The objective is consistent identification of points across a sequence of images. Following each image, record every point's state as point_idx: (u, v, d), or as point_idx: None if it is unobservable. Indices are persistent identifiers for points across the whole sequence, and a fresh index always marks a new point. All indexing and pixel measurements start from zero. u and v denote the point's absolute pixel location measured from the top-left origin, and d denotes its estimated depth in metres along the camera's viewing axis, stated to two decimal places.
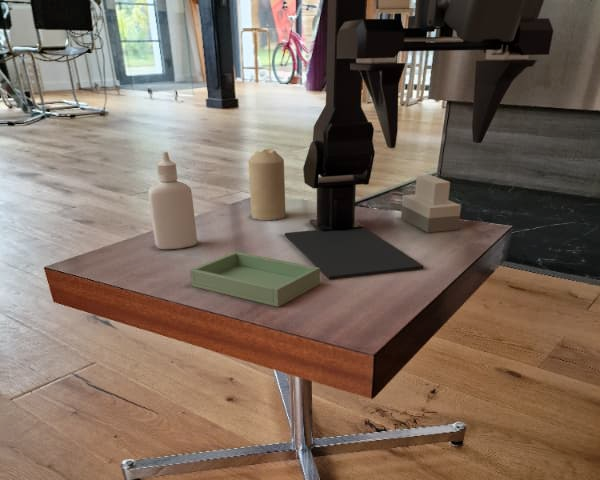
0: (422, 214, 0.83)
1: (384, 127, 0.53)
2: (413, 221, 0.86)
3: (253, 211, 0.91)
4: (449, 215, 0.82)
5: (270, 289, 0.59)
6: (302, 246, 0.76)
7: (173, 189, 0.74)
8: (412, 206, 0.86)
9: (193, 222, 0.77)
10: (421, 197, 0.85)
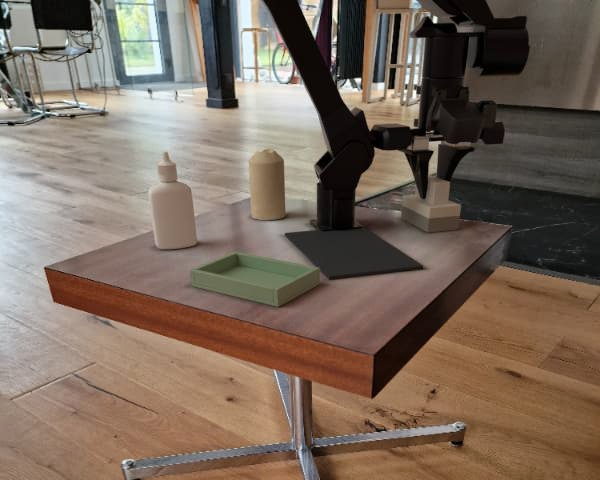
0: (422, 214, 0.83)
1: (418, 186, 0.84)
2: (413, 221, 0.86)
3: (253, 211, 0.91)
4: (449, 215, 0.82)
5: (270, 289, 0.59)
6: (302, 246, 0.76)
7: (173, 189, 0.74)
8: (412, 206, 0.86)
9: (193, 222, 0.77)
10: None
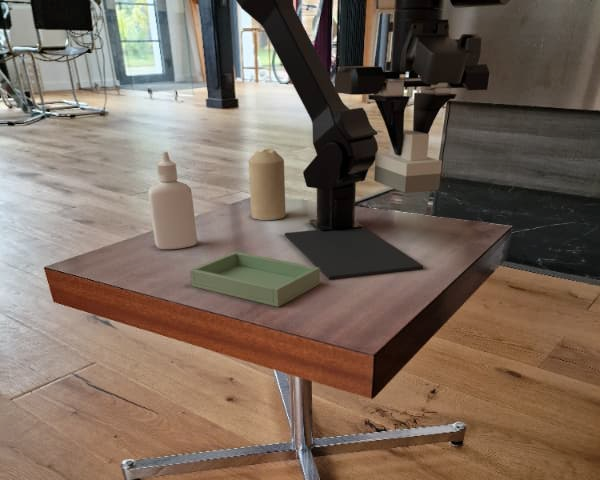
0: (398, 173, 0.73)
1: (393, 140, 0.73)
2: (388, 182, 0.76)
3: (253, 211, 0.91)
4: (429, 173, 0.72)
5: (270, 289, 0.59)
6: (302, 246, 0.76)
7: (173, 189, 0.74)
8: (386, 164, 0.75)
9: (193, 222, 0.77)
10: None
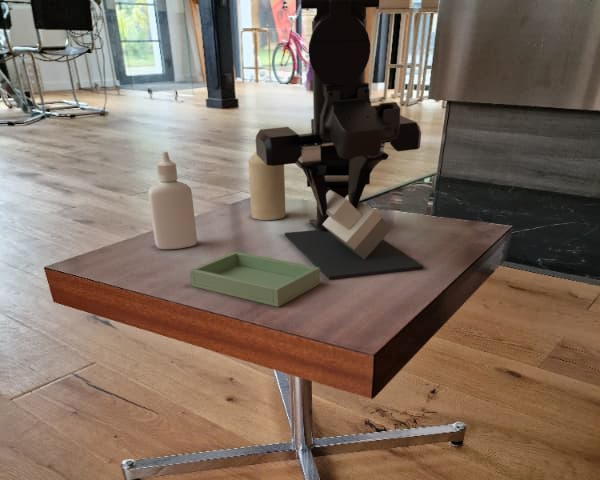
0: (347, 245, 0.71)
1: (317, 200, 0.70)
2: (348, 247, 0.74)
3: (253, 211, 0.91)
4: (371, 228, 0.69)
5: (270, 289, 0.59)
6: (302, 246, 0.76)
7: (173, 189, 0.74)
8: (335, 235, 0.74)
9: (193, 222, 0.77)
10: (336, 221, 0.73)
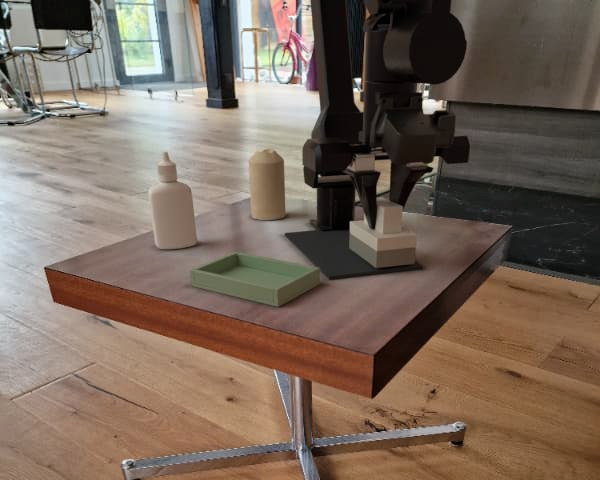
0: (370, 246, 0.68)
1: (366, 213, 0.68)
2: (361, 253, 0.71)
3: (253, 211, 0.91)
4: (402, 247, 0.67)
5: (270, 289, 0.59)
6: (302, 246, 0.76)
7: (173, 189, 0.74)
8: (359, 235, 0.70)
9: (193, 222, 0.77)
10: None
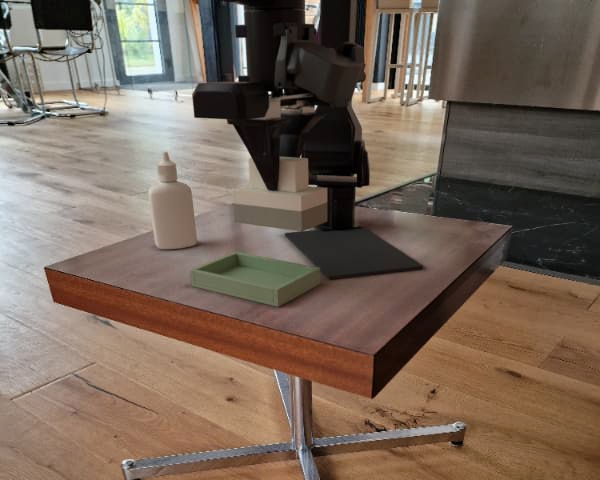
0: (285, 208, 0.58)
1: (265, 173, 0.58)
2: (265, 221, 0.61)
3: None
4: (318, 203, 0.60)
5: (270, 289, 0.59)
6: (302, 246, 0.76)
7: (173, 189, 0.74)
8: (258, 200, 0.60)
9: (193, 222, 0.77)
10: None
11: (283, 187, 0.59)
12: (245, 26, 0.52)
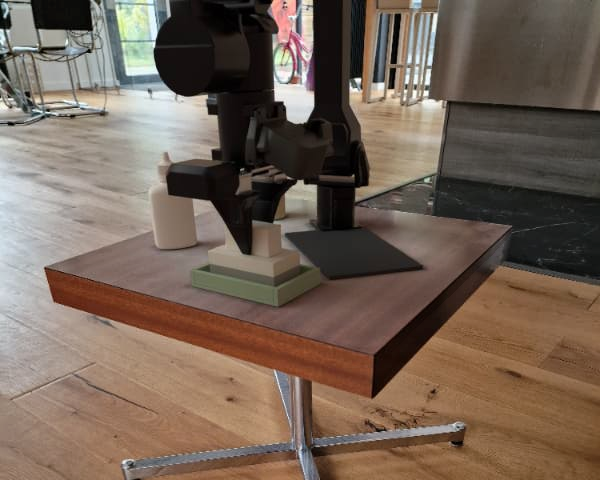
0: (258, 273, 0.61)
1: (239, 239, 0.61)
2: None
3: None
4: (291, 267, 0.62)
5: (270, 289, 0.59)
6: (302, 246, 0.76)
7: None
8: (233, 263, 0.62)
9: (193, 222, 0.77)
10: None
11: (257, 252, 0.61)
12: (216, 105, 0.54)
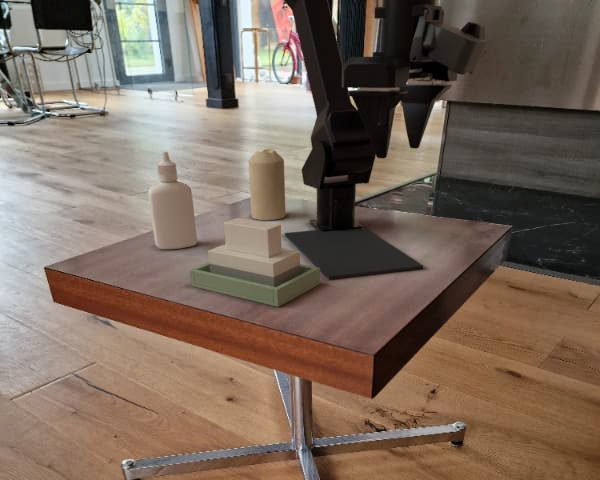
0: (258, 273, 0.61)
1: (377, 142, 0.64)
2: None
3: (253, 211, 0.91)
4: (291, 267, 0.62)
5: (270, 289, 0.59)
6: (302, 246, 0.76)
7: (173, 189, 0.74)
8: (233, 263, 0.62)
9: (193, 222, 0.77)
10: (241, 249, 0.62)
11: (257, 252, 0.61)
12: (385, 8, 0.61)
